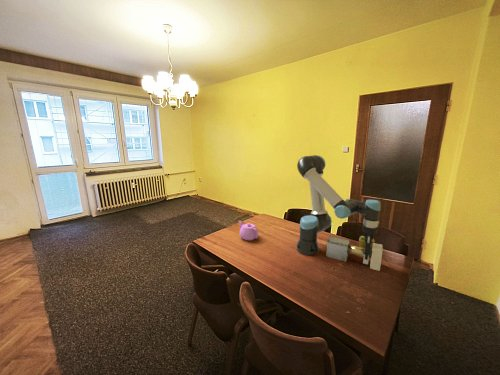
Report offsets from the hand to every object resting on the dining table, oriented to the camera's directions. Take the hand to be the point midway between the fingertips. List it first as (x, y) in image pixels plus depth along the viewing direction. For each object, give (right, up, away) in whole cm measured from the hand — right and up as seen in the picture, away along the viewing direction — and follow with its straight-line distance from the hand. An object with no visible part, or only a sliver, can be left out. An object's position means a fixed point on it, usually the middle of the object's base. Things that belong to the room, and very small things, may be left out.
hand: (365, 261), depth 128 cm
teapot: (-73, +6, +36) cm, 82 cm away
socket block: (+4, -2, -2) cm, 5 cm away
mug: (+9, +2, +18) cm, 20 cm away
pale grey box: (-14, 0, +9) cm, 17 cm away
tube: (-3, +3, +1) cm, 5 cm away
